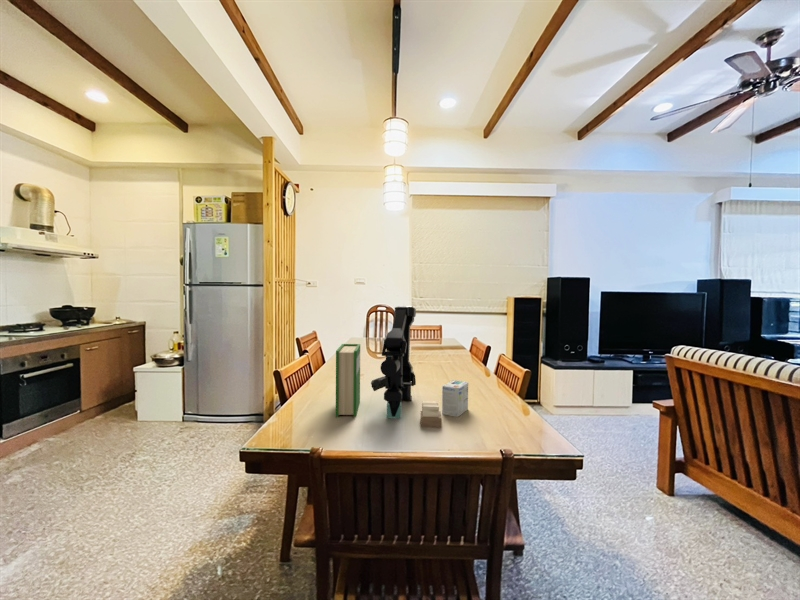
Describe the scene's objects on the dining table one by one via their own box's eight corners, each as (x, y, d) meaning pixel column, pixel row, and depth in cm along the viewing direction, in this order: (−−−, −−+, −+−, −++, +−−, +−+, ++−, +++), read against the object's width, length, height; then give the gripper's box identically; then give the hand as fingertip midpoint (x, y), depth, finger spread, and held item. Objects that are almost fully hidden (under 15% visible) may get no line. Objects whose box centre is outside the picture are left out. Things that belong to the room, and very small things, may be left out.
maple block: (422, 411, 128) (422, 401, 128) (437, 411, 127) (437, 401, 127) (422, 416, 122) (422, 406, 122) (438, 416, 122) (438, 406, 122)
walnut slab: (420, 420, 128) (420, 410, 128) (440, 421, 128) (440, 411, 128) (420, 427, 121) (420, 417, 121) (441, 428, 121) (441, 418, 121)
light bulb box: (452, 406, 144) (452, 379, 143) (468, 409, 140) (469, 381, 140) (441, 414, 134) (441, 385, 134) (458, 417, 131) (458, 388, 131)
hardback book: (356, 417, 130) (356, 351, 130) (335, 417, 130) (335, 350, 130) (359, 402, 148) (360, 344, 147) (341, 402, 148) (342, 343, 147)
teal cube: (387, 413, 135) (388, 400, 135) (401, 413, 135) (401, 400, 134) (386, 418, 130) (386, 404, 130) (400, 418, 130) (400, 404, 130)
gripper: (375, 364, 142) (375, 404, 142) (369, 375, 123) (369, 421, 123) (403, 365, 141) (403, 404, 141) (402, 376, 122) (401, 421, 123)
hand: (394, 412), depth 132 cm, fingers open, 8 cm apart
